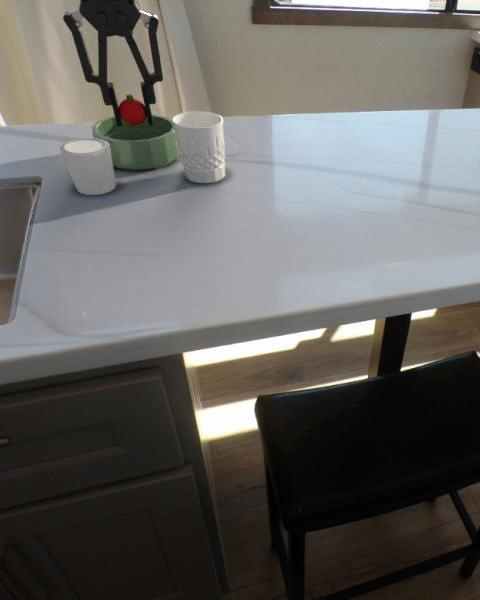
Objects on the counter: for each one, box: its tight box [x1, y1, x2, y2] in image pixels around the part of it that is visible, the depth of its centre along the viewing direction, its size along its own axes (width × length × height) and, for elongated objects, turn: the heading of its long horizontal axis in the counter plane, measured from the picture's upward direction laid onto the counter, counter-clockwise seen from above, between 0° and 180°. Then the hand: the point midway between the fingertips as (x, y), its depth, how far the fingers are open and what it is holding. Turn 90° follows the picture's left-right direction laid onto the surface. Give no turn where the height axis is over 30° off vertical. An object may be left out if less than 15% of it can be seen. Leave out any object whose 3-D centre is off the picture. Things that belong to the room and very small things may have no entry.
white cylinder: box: [59, 137, 117, 196], centre depth 83 cm, size 7×7×7 cm
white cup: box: [171, 110, 226, 184], centre depth 89 cm, size 8×8×10 cm
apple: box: [118, 94, 147, 125], centre depth 90 cm, size 4×4×5 cm
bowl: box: [91, 113, 180, 171], centre depth 93 cm, size 14×14×6 cm
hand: (135, 122), depth 91 cm, fingers closed on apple, 4 cm apart
